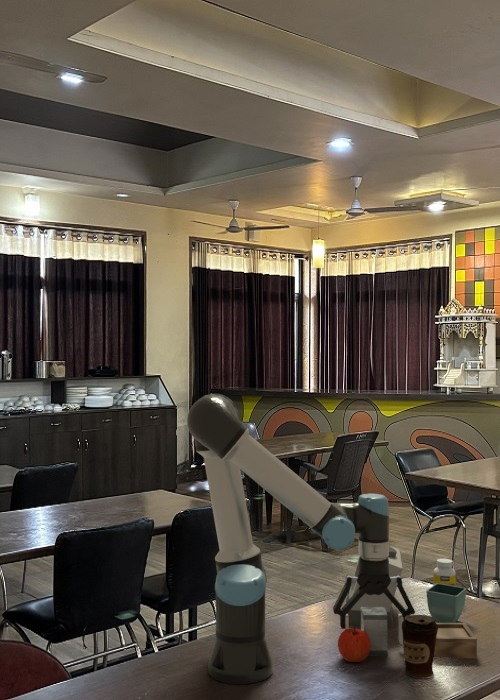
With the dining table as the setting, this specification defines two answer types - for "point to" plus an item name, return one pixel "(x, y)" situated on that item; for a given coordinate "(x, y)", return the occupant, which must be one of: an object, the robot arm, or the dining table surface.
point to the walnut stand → (455, 641)
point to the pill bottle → (444, 572)
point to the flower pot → (446, 602)
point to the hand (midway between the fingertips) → (373, 641)
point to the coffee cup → (419, 644)
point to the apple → (354, 645)
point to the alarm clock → (374, 600)
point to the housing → (375, 628)
